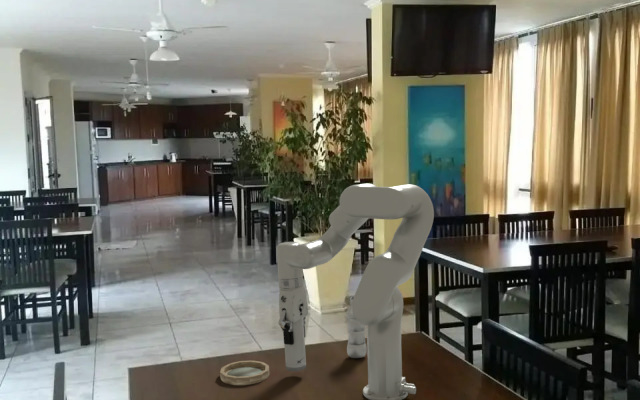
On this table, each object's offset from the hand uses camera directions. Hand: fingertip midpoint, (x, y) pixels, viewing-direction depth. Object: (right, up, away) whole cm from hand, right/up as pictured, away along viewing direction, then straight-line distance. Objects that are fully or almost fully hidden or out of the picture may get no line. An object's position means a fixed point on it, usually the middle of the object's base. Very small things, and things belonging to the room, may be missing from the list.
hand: (294, 340), depth 189 cm
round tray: (-16, -12, +3) cm, 20 cm away
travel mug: (+1, -9, +1) cm, 9 cm away
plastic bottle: (+20, -10, +17) cm, 28 cm away
